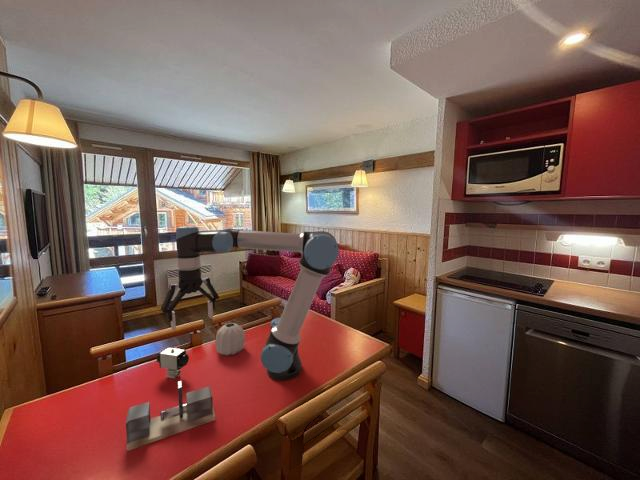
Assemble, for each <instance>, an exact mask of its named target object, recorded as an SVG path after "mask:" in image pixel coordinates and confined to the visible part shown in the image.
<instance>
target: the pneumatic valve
mask: <svg viewBox="0 0 640 480" xmlns="http://www.w3.org/2000/svg"><path fill="white" fill-rule="evenodd" d="M189 360H190V357H189V354H188V353H187V350H186V349H181V348H178V347H174V348H173V347H166V348H165V349H163V350H162V351H160V352H158V353H157V356H156V362H157V363H159V368H160V369H161V368H162V369H166V372H165V374H166V378H169V379H174V380H175V379H176V378H177V377H179V376H180V375H181V373H182V370H181V369H182V368H184V367H185V366H187V365H188V362H189Z"/></svg>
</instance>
